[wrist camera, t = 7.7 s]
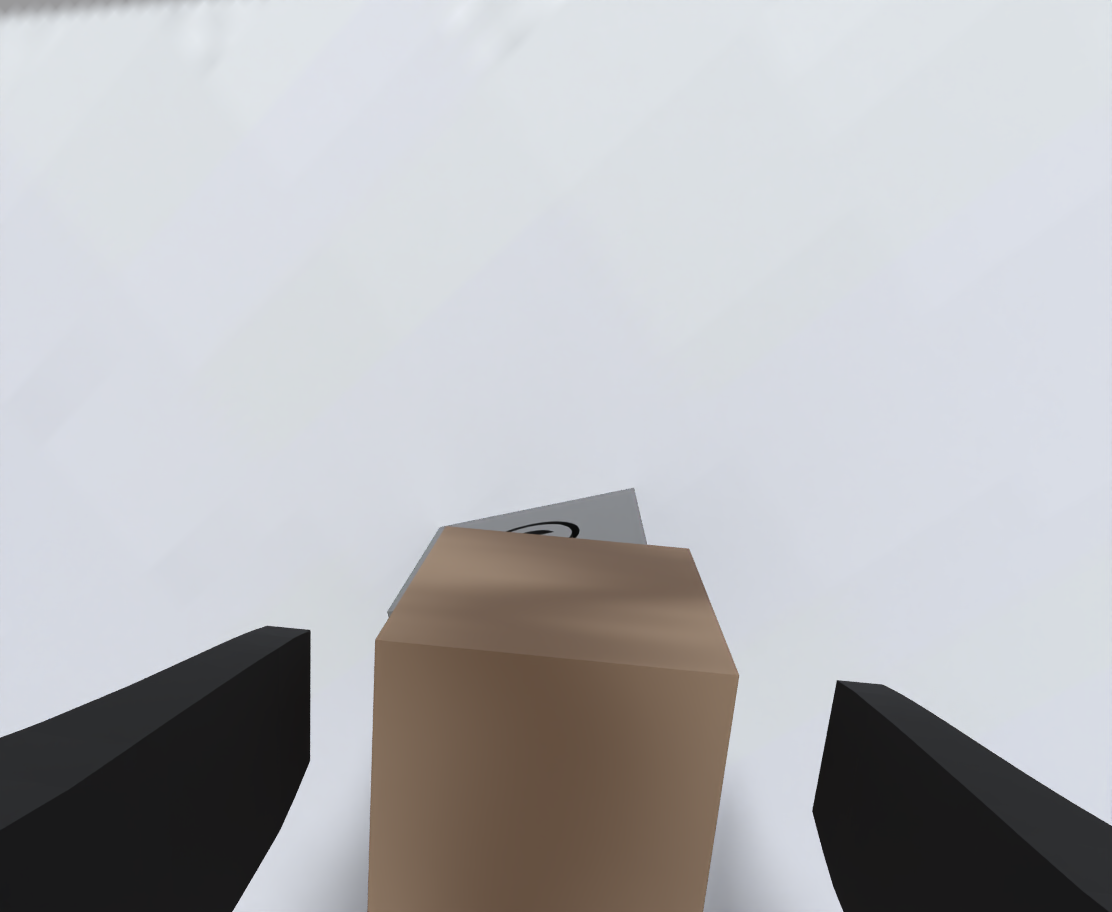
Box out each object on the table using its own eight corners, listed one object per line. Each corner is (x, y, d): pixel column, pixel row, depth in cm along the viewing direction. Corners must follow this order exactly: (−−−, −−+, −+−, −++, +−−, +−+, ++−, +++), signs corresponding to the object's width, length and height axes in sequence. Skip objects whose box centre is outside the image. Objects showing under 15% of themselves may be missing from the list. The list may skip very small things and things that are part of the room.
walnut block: (689, 549, 13) (739, 675, 9) (661, 763, 14) (693, 974, 10) (446, 526, 13) (375, 640, 9) (435, 741, 14) (366, 938, 10)
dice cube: (670, 666, 19) (700, 796, 14) (487, 698, 19) (453, 836, 14) (633, 486, 18) (651, 561, 13) (440, 525, 18) (386, 612, 13)
